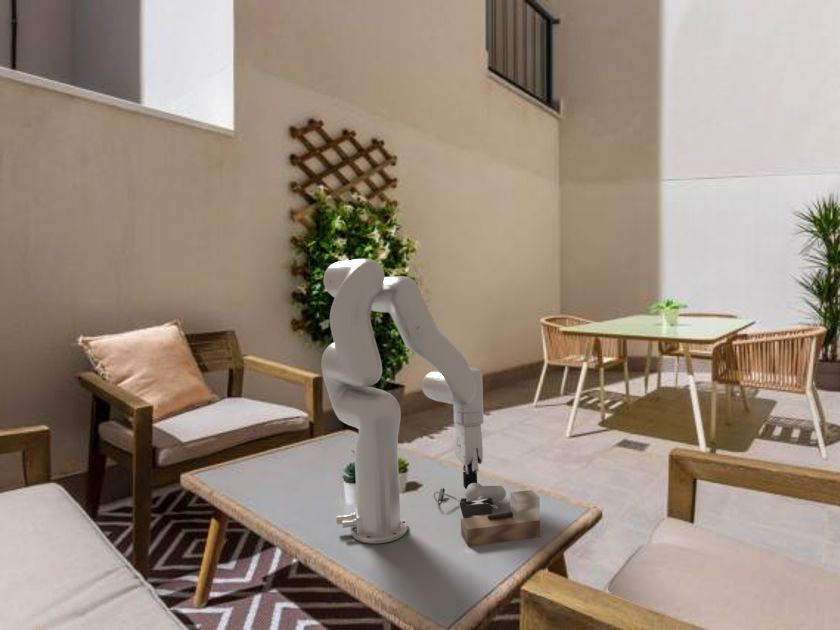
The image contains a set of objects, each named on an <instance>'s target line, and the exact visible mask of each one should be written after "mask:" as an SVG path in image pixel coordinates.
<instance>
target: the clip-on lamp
mask: <svg viewBox="0 0 840 630" xmlns="http://www.w3.org/2000/svg"><path fill="white" fill-rule="evenodd" d="M445 491H446V489H445V486H443V487H442V488H440V489H439V491H435V492H433V498H434V500H435V502H436V503H438V504H441V503H442V502H443V500H444V496H445V497H449V498H452V499H453V500H455V501H458V502H459V508H460V510H461V511H460V512H461V515H462V519H464V518H470V517H480V516H485V515H489V514H493V509H496V510H499V506H498V505H496V504H494V501H497V502H499V501H503V500H505V498H506V497H507V496H506V495H507V493H506V492H507V491H506V489H505V488H504V487H503V486H502V485H482V484H481V483H478V482H477V483H471V484H469V485H468V487H467V489H465V493H464V494H465V495H464V496H465V497H462V498H461V499H459V498H457V497H455V496H452V495H451V494H449V493H445ZM436 494H438V498H437V497H436Z"/></svg>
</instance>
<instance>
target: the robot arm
mask: <svg viewBox="0 0 840 630" xmlns="http://www.w3.org/2000/svg"><path fill="white" fill-rule="evenodd" d="M323 285H324V286H323V287H324V288H325V290H326V291H327V292H328V294H330V295H331V296H332V297H333V298H334V299H333V300H332V305H331V308H330V313H329V327H330V331H331V335H332V339H333V340H332V341H333V342H331V343H330V344H329V345H328V346H327V347H326V348H325V349H324V351H323V353H322V356H321V360H320V361H321V362H320V363H321V365H320V367H321V373H322V377H323V381H324V384H325V387H326V390H327V394H328V398H329V400H330V404H331V405H332V406H331V407H332V410H333V411H334V414H335V416H336V417H337V418H338V420H339V421H341V422H342V423H344V424H346V425H348V426H350V427H353V428H356V429H357V430H358V435H357V439H356V441H355V445H354V446H355V447H354V470H355V471H354V472H355V476H354V477H355V492H356V493H355V497H356V498H355V499H356V506H355V507H354V511H353V512H350V514H349V513H348V514H338V515H336V518H335V519H336V525H337V526H338V525H342V529H346V528H350V534H351V536H352V537H353V538H354V539H355V540H357V541H359V542H361V543H366V544H373V545H374V544H386V543H389V542H393V541H395V540H398V539H400V538H401V537H404V535H405V534H406V533H407V531H408V530H409V529H408V528H409V526H408V522H407V520H406V518H404V517H403V516H401V506H400V505H401V501H400V481H399V480H400V477H399V476H400V475H399V447H398V446H399V445H398V444H399V443H398V441H399V439H398V438H399V431H400V423H401V413H402V412H401V411H402V410H401V406H400V403H399V402H398V400H397V398H396V397H395V396H394V395H393V394H392V393H390V392H388V391H386V390H384V389H380V388H376V387H373V386H374V385H375V384H377V383H378V382H379V381H380V380H381V377H382V374H383V366H382V365H383V363H382V360H381V355H380V353H379V352H380V351H379V348H378V346H377V341H376V337H375V334H374V330H373V325H372V319H371V313H372V312H376V313H388V314H390V317H391V319H392V321H393V323H394V325H395V326H396V330H397V331H398V333H399V335H400V337H401V339H402V341H403V343H404V345H405V346H406V348H408V349H409V351H411V352H413V354H415V355H417V356H418V357H420V358H421V359H423V360H425V361H427V362H428V363H429V364H431V365H432V366H433V368H435V369H436V370H432V371H430V372H428V373H427V374H426V375H425V376H424V377H423V379H422V382H421V390H422V392H423V394H424V395H425V396H426V397H427V398H429V399H431V400H433V401H436V402H440V403H446V404H449V405H453V406H452V407H453V424H454V455H455V457H456V458H457V460H458V461H459V462H460V463H461V464H462V471H463V472H462V474H463V475H462V479H463V480H462V481H463V482H462V483H463V484H462V485H463V487H464V489H465V490H466V489H467V487H468V485H469V484H471V483H478V472H479V465H481V464H482V463H483V460H484V458H483V457H484V452H483V451H484V449H483V433H482V426H481V425H483V424H484V421H485V419H484V395H483V394H484V386H483V381H484V380H483V372H482V370H481V369H480V368H477V367H470V365H469V363H468V361H467V360H466V358H465V356H464V355H463V354H462V353H461V352H460V350H459V349H458V348H457V347H456V346H455V345H454V344H453V342H451V341H450V340H449V339H448V338H447V337H446V336H445V335H444V334H443V333H442V332H441V331H440V330H439V329H438V326H437V325H436V322H435V319H434V318H433V315H432V313H431V311H430V309H429V307H428V305H427V303H426V300H425V299H424V296H423V294H422V291H421V289H420V286H418V284H417V282H416V281H415V280H414V279H412V278H411V277H409V276H404V275H394V276H393V275H392V276H391V275H390V276H385V271H384V268H383V266H382V265H381V263H379V262H378V261H376V260H374V259H371V258H356V259H351V260H349V259H347V260H341V261H336V262H334V263H332V264H330V265H329V266H328V267H327V268H326V270H325V272H324V275H323Z"/></svg>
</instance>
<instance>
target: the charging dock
mask: <svg viewBox="0 0 840 630" xmlns="http://www.w3.org/2000/svg"><path fill="white" fill-rule="evenodd" d="M509 494H510V495H509V496H510V497H509V498H510V499H509V502H510V511H507V512H505V511H504V512H498V513H497V512H496V513H492V514H489V515H479V516H471V517H469V518H460V535H461V537H462V539H463V541H464V542H465V544H466V545H467V547H470V546H478V545H486V544H493V543H502V542H508V541H514V540H515V541H516V540H523V539H529V538H532V539H533V538H539V537H541V507H540V506H541V504H540V502H541V501H540V496H539V495H538V494H537V493H536V492H535V491H534V490H532V489H530V490H521V491H511V492H510V493H509Z"/></svg>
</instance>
